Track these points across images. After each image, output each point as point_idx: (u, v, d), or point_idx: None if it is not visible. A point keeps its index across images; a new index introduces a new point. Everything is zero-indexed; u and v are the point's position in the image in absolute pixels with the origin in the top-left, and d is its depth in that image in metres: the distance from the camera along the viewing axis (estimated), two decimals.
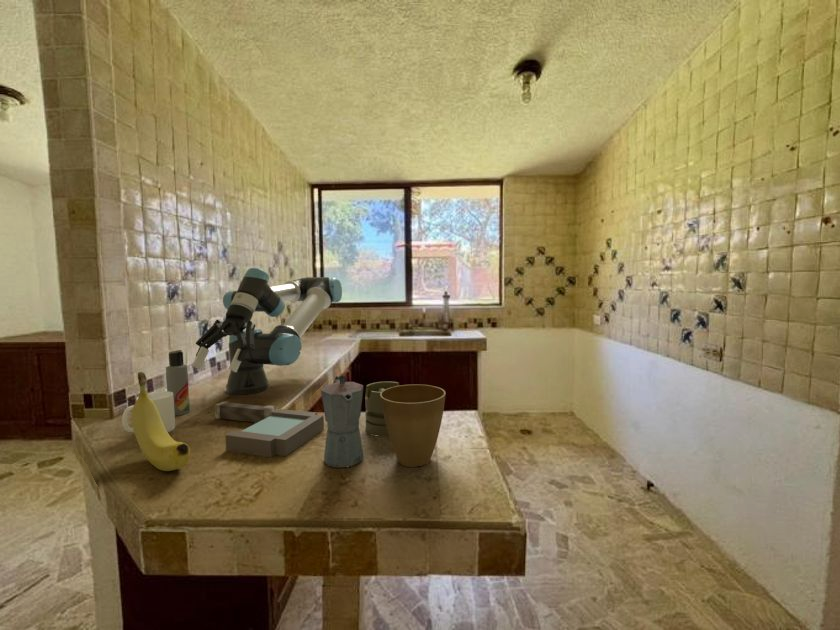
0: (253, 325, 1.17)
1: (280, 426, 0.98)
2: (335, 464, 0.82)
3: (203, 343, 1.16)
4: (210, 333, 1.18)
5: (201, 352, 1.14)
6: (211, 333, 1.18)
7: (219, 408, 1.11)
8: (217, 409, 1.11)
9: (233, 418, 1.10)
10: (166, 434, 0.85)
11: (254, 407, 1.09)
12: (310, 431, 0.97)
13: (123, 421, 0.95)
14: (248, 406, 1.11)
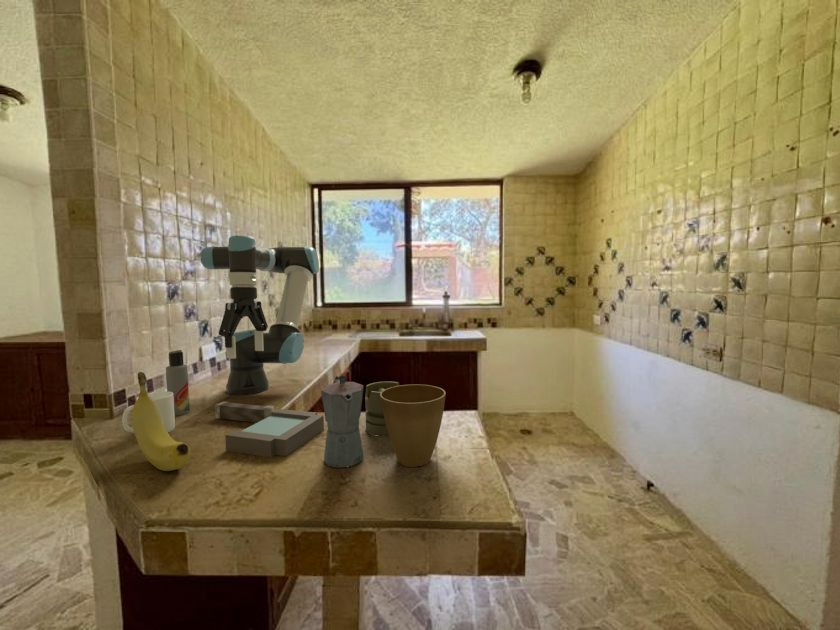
0: None
1: (280, 426, 0.98)
2: (335, 464, 0.82)
3: (232, 332, 1.09)
4: None
5: None
6: None
7: (219, 408, 1.11)
8: (217, 409, 1.11)
9: (233, 418, 1.10)
10: (166, 434, 0.85)
11: (254, 407, 1.09)
12: (310, 431, 0.97)
13: (123, 421, 0.95)
14: (248, 406, 1.11)
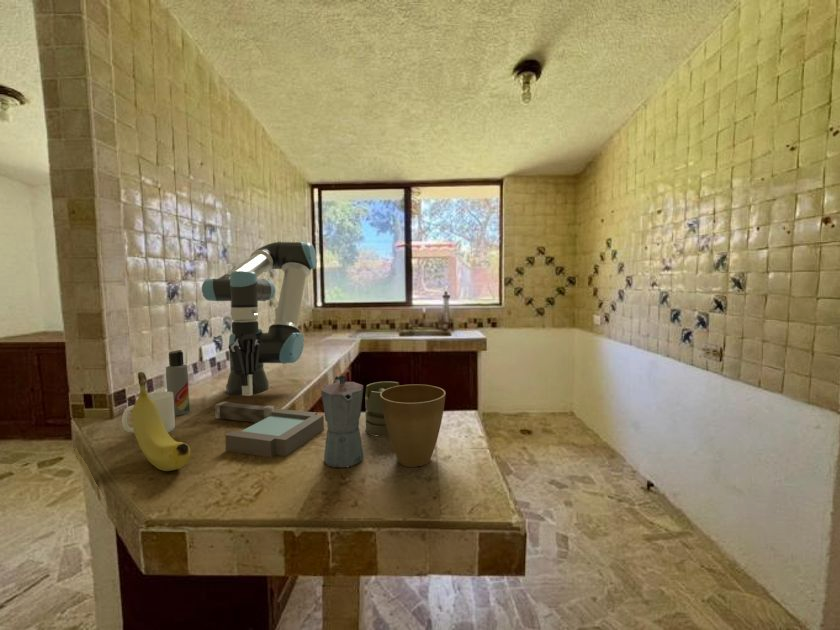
0: None
1: (280, 426, 0.98)
2: (335, 464, 0.82)
3: (247, 371, 1.15)
4: None
5: None
6: None
7: (219, 408, 1.11)
8: (217, 409, 1.11)
9: (233, 418, 1.10)
10: (166, 434, 0.85)
11: (254, 407, 1.09)
12: (310, 431, 0.97)
13: (123, 421, 0.95)
14: (248, 406, 1.11)
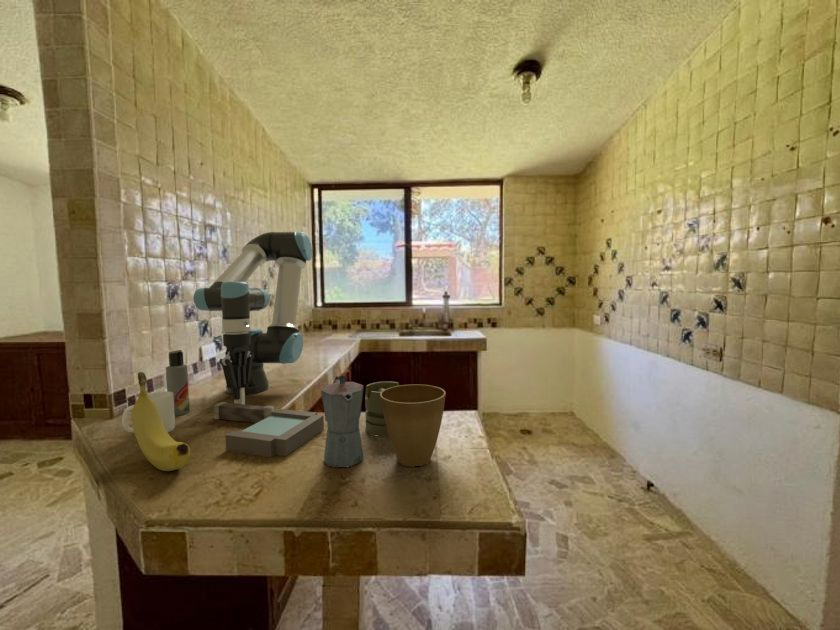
0: None
1: (280, 426, 0.98)
2: (335, 464, 0.82)
3: (239, 384, 1.12)
4: None
5: None
6: None
7: (218, 409, 1.11)
8: (216, 410, 1.11)
9: (232, 419, 1.10)
10: (166, 434, 0.85)
11: (254, 407, 1.09)
12: (310, 431, 0.97)
13: (123, 421, 0.95)
14: (247, 406, 1.10)
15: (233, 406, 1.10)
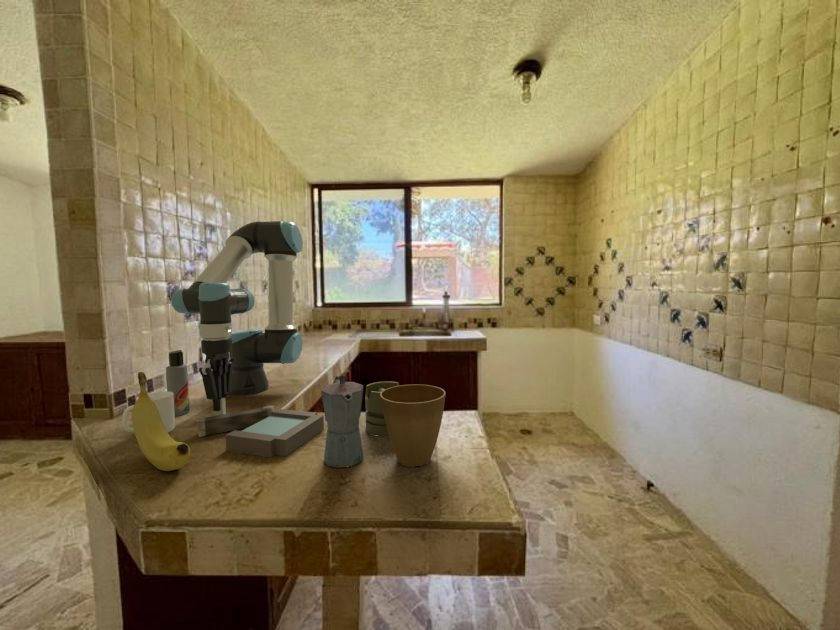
0: None
1: (280, 426, 0.98)
2: (335, 464, 0.82)
3: (220, 394, 1.03)
4: None
5: None
6: None
7: (205, 424, 0.99)
8: (202, 426, 0.98)
9: (226, 430, 1.01)
10: (166, 434, 0.85)
11: (251, 411, 1.06)
12: (310, 431, 0.97)
13: (123, 421, 0.95)
14: (240, 412, 1.05)
15: (224, 416, 1.02)
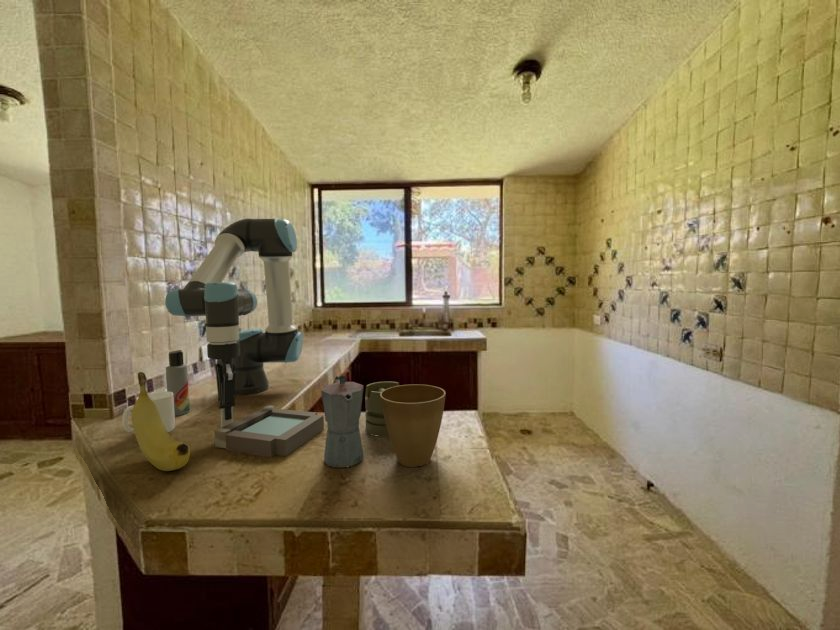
0: None
1: (280, 426, 0.98)
2: (335, 464, 0.82)
3: None
4: None
5: None
6: None
7: None
8: None
9: None
10: (166, 434, 0.85)
11: (258, 414, 1.04)
12: (310, 431, 0.97)
13: (123, 421, 0.95)
14: (249, 417, 1.01)
15: (241, 422, 0.97)
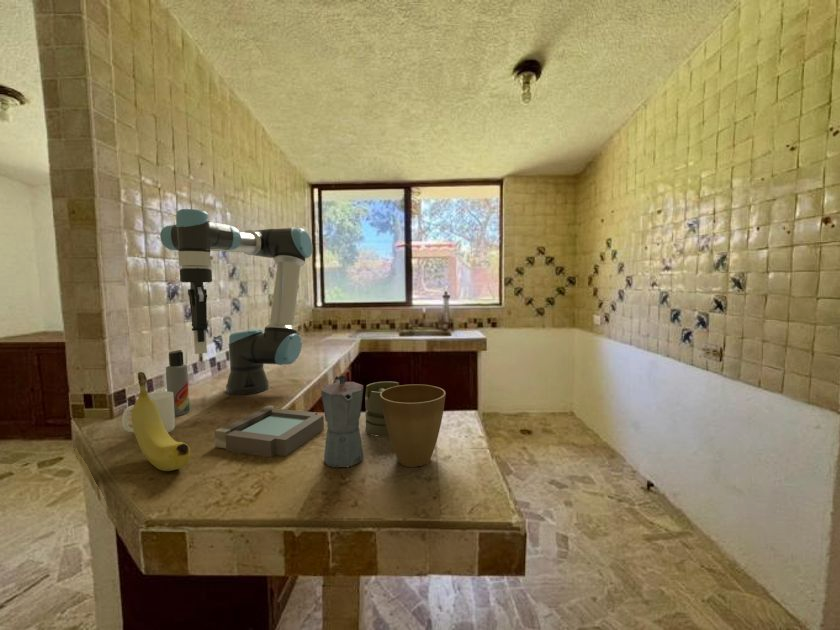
0: None
1: (280, 426, 0.98)
2: (335, 464, 0.82)
3: None
4: None
5: None
6: None
7: None
8: None
9: None
10: (166, 434, 0.85)
11: (258, 414, 1.04)
12: (310, 431, 0.97)
13: (123, 421, 0.95)
14: (249, 417, 1.01)
15: (241, 422, 0.97)
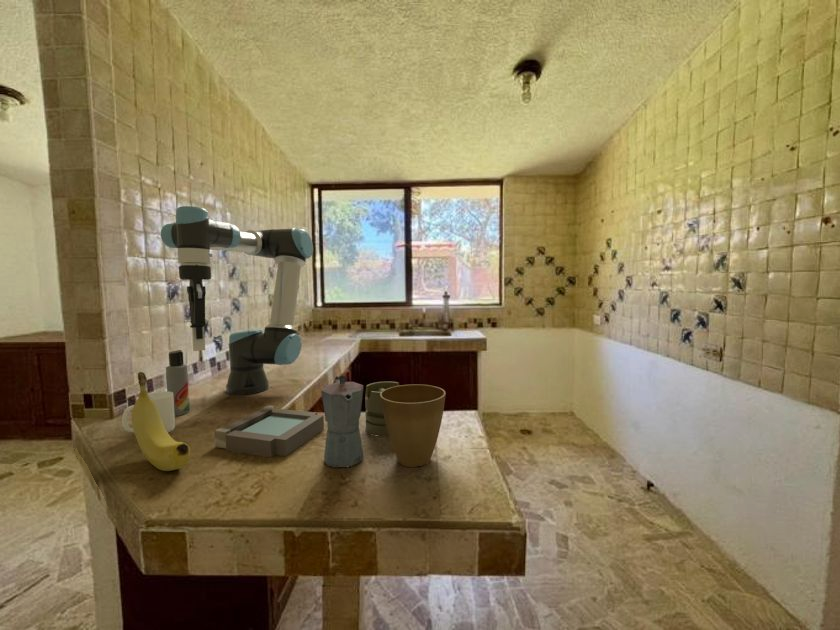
0: None
1: (280, 426, 0.98)
2: (335, 464, 0.82)
3: None
4: None
5: None
6: None
7: None
8: None
9: None
10: (166, 434, 0.85)
11: (258, 414, 1.04)
12: (310, 431, 0.97)
13: (123, 421, 0.95)
14: (249, 417, 1.01)
15: (241, 422, 0.97)
